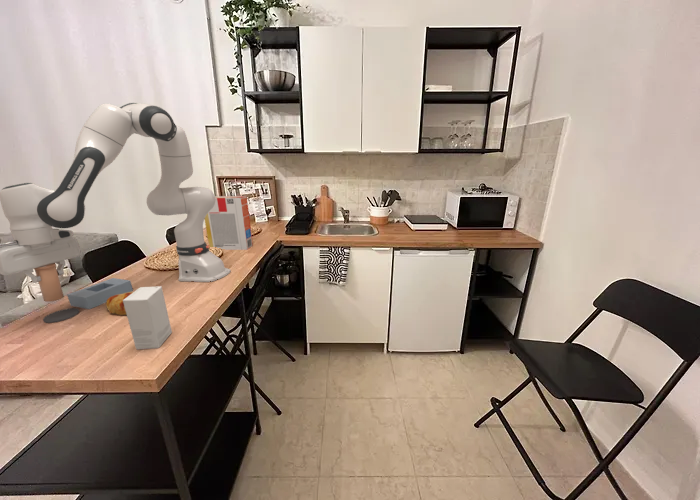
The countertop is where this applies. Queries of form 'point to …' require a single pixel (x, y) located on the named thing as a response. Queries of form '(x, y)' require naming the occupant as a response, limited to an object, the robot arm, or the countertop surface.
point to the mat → (61, 315)
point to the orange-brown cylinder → (49, 282)
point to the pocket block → (99, 293)
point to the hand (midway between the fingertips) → (49, 278)
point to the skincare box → (148, 317)
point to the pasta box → (229, 223)
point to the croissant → (117, 303)
